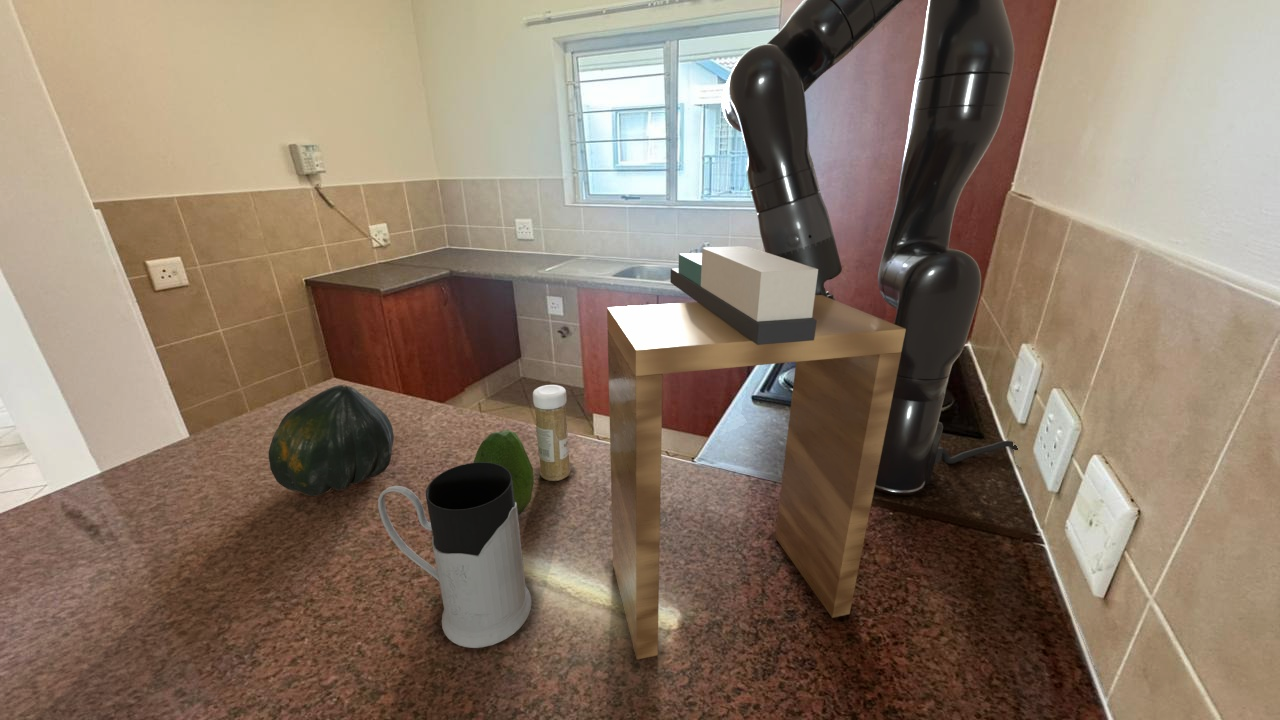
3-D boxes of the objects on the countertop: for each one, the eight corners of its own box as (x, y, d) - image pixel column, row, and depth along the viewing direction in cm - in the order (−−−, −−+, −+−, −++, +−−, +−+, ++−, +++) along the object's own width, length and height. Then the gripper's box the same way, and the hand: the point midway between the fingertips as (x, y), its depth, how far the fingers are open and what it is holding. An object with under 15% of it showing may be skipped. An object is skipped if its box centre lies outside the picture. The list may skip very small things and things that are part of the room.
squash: (233, 456, 68) (264, 390, 61) (334, 413, 81) (369, 356, 74) (301, 534, 67) (340, 477, 60) (392, 479, 80) (432, 427, 73)
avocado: (548, 505, 67) (542, 425, 62) (510, 542, 60) (500, 455, 56) (500, 490, 70) (491, 413, 65) (459, 524, 63) (446, 440, 59)
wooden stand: (790, 535, 61) (821, 294, 51) (849, 614, 50) (906, 328, 40) (613, 565, 56) (606, 307, 46) (636, 660, 46) (635, 350, 35)
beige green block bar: (709, 280, 57) (711, 234, 55) (814, 340, 37) (823, 270, 35) (670, 282, 56) (671, 235, 54) (756, 345, 36) (763, 273, 34)
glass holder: (510, 654, 46) (493, 520, 41) (372, 631, 48) (338, 502, 43) (543, 582, 54) (533, 463, 49) (423, 565, 56) (401, 449, 51)
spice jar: (576, 475, 73) (571, 391, 68) (547, 486, 71) (540, 399, 66) (562, 461, 77) (557, 381, 72) (534, 470, 74) (527, 388, 69)
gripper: (846, 233, 49) (883, 384, 52) (821, 229, 62) (851, 349, 66) (770, 258, 51) (810, 402, 54) (761, 249, 64) (794, 365, 68)
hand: (833, 373), depth 60 cm, fingers open, 8 cm apart
